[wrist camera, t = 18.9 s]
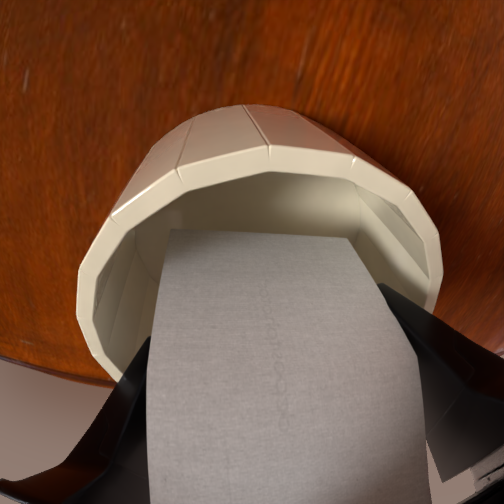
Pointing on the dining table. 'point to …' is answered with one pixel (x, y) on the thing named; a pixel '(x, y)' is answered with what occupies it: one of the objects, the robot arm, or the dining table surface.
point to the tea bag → (279, 377)
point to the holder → (247, 215)
